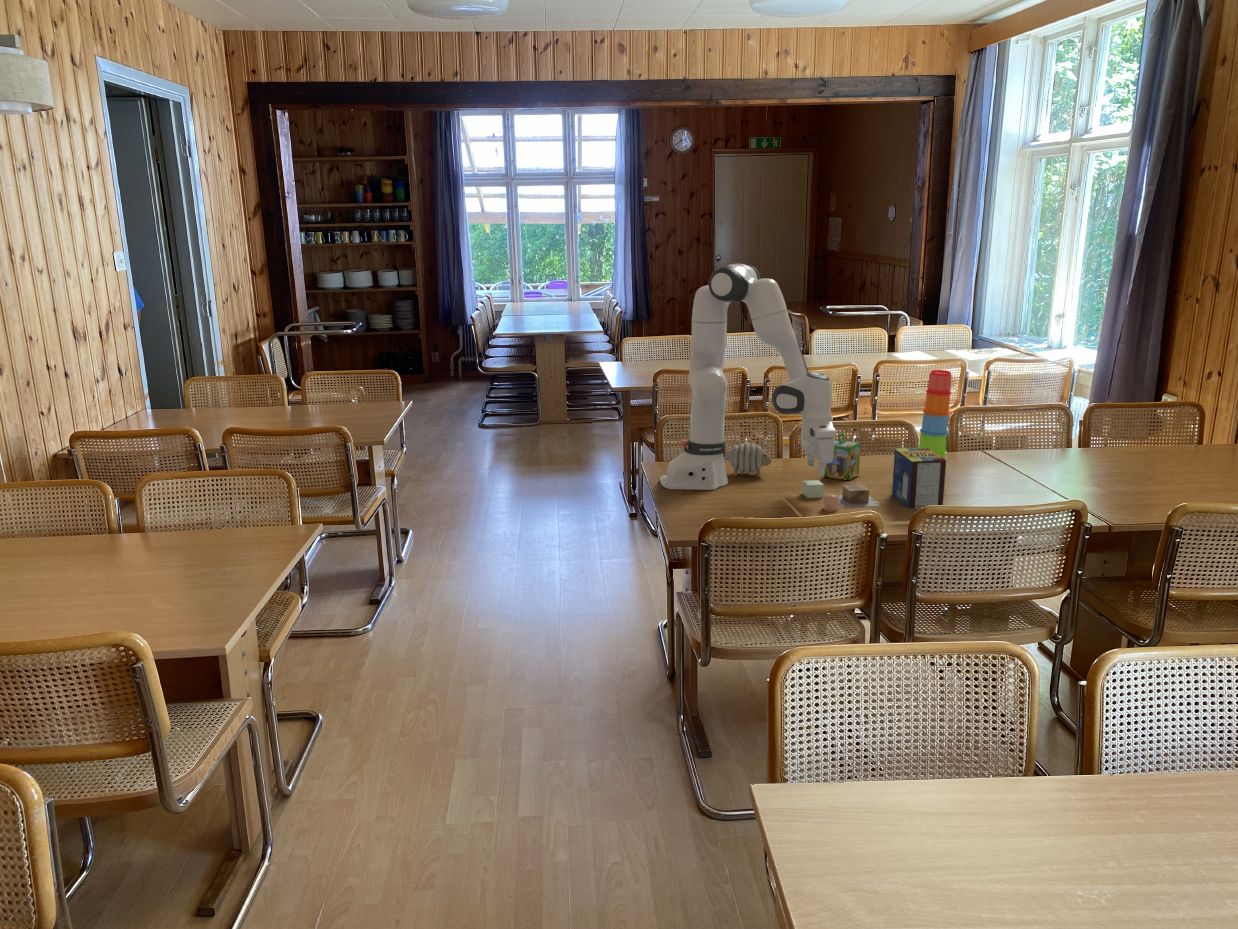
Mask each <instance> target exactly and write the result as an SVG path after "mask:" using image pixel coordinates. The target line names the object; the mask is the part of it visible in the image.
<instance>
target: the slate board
mask: <svg viewBox="0 0 1238 929" xmlns="http://www.w3.org/2000/svg"><path fill="white" fill-rule="evenodd" d="M838 495H839V506H840V507H842V508H857V507H858V508H859V507H879V505H878V504H874V503H879V502H878V501H877V500H876V501H873V500H871V499H874V498H873V497H872V496H870V495H869V503H855V504H849V503H848V502H846V501H845V500H844V499H843V498H842V494H838Z"/></svg>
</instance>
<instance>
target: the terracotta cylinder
mask: <svg viewBox="0 0 1238 929" xmlns="http://www.w3.org/2000/svg"><path fill="white" fill-rule="evenodd" d="M839 495H840V494H838V493H833V492H830V493H823V508H822V509H823V510H824V511H826V512H838V511H839V509H840V504H839Z"/></svg>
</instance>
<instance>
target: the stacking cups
mask: <svg viewBox="0 0 1238 929" xmlns="http://www.w3.org/2000/svg"><path fill="white" fill-rule="evenodd" d="M952 376H953V374H952V372H951V371H949V370H944V369H943V370H942V369H934V370H933V369H932V370H931V371H930V372H929V376H928V382H927V390H925V393H926V396H925V403H924V404H925V405H924V409H922V413H923V416H922V422H921V428H920V429H919V433H920V434H919V442H918V447H917V448H929V449H930V450H932V451H933V452H935V453H936V454H938V455H939V456H941V457H942V458H944V459H945V457H946V455H947V454H948V452H947V450H946V447H947V446H946V445H947V435H948V434H949V430H948V425H949V423H948V422H949V415H950V414H951V412H950V411H949V410H950V400H951V395H952V391H951V387H952V386H951V385H952Z"/></svg>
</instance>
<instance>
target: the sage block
mask: <svg viewBox="0 0 1238 929" xmlns="http://www.w3.org/2000/svg"><path fill="white" fill-rule="evenodd" d="M824 486H825V484H824V483H823V482H821V481H820V480H818V479H817V480H816V479H815V480H814V479H813V480H803V481H802V495H803V496H804V497H806V499H816V498H823V499H824V490H825V489H824Z"/></svg>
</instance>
